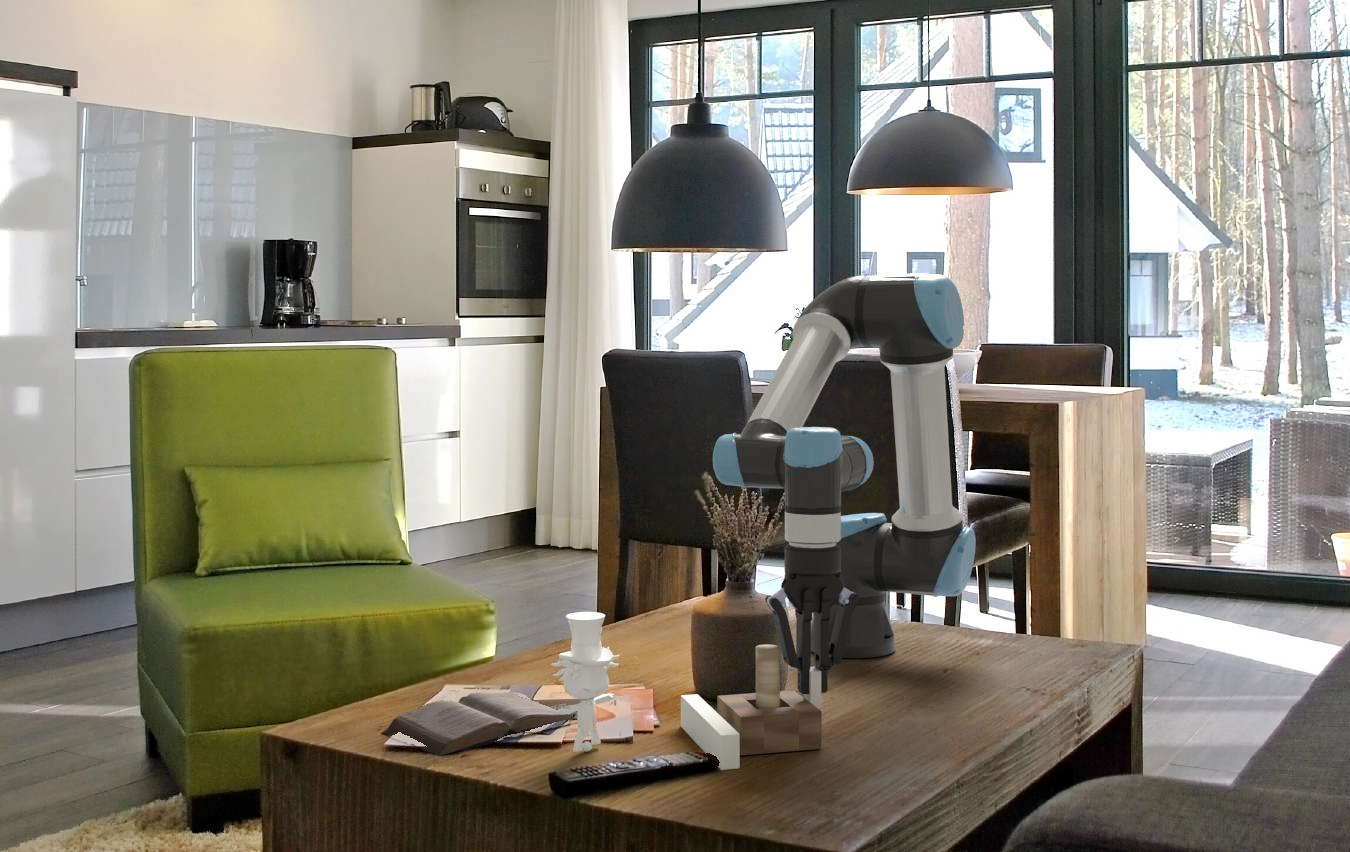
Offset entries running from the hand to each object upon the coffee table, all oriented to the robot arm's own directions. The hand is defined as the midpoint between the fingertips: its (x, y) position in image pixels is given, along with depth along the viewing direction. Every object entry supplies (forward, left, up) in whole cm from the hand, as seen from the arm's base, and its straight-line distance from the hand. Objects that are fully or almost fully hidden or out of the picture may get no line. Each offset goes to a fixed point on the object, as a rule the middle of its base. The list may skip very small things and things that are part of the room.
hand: (812, 716), depth 189 cm
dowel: (0, -6, -2) cm, 7 cm away
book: (-18, -42, -4) cm, 46 cm away
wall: (0, -15, -3) cm, 15 cm away
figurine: (-2, -31, -3) cm, 31 cm away
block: (0, -6, -3) cm, 7 cm away
